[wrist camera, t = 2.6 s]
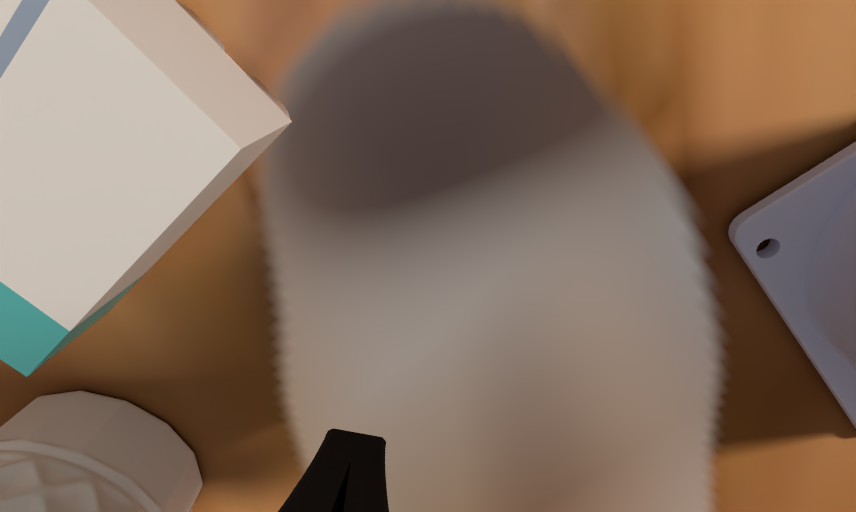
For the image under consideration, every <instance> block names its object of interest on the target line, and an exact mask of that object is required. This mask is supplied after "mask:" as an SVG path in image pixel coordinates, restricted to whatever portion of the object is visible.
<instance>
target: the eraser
mask: <svg viewBox="0 0 856 512" xmlns="http://www.w3.org/2000/svg"><path fill="white" fill-rule="evenodd" d="M291 122H292V121H291V120H290V118H289V114H288V111H287V109H286V108H285V106H284V105H283V103H282V102H281V101H280V100H279V98H278V97H277V96H276V95H275V97H274V96H273V95H272V94H271V93H270V92H269V91H268V90H267V88H266V87H265V86H264V85H263V84H262V83H261V82H260V81H259V80H257V79H256V78H254V77H252V76H250V75H248V74H246V73H245V72H244V71H243V70H242V69H241V68H240V67H239V66H238V65H237V64H236V63H235V62H234V61H233V60H232V59H231V58H230V57H229V56H228V55H227V54H226V53H225V52H224V45H223V43H222V42H221V41H220V39H219V38H218V37H217V36H216V35H215V34H214V33H213V32H212V31H211V30H210V29H209V28H208V27H207V26H206V25H205V24H204V23H203V22H202V21H201V20H200V19H199V18H198V17H197V16H196V14H195V13H194V12H193V11H192V10H190V9H189V8H188V7H186V6H184V5H183V4H181V3H179V2H177V1H176V0H49V2H48V3H47V5H46V6H45V8H44V10H43V11H42V13H41V14H40V16H39V18H38V19H37V21H36V22H35V24H34V26H33V27H32V29H31V30H30V32H29V33H28V35H27V37H26V38H25V40H24V41H23V43H22V45H21V46H20V48H19V49H18V51H17V53H16V54H15V56H14V57H13V59H12V61H11V62H10V64H9V65H8V67H7V69H6V70H5V72H4V73H3V75H2V77H1V78H0V359H1V360H2V361H4V362H5V363H7V364H8V365H10V366H11V367H13V368H14V369H16V370H17V371H19V372H20V373H22V374H23V375H25V376H26V377H28V376H29V375H30V374H31V373H33V372H34V371H35V370H36V369H38V368H39V367H40V366H41V365H43V364H44V363H45V362H46V361H48V360H49V359H50V358H51V357H53V356H54V355H55V354H56V353H58V352H59V351H60V350H61V349H63V348H64V347H65V346H66V345H68V344H69V343H70V342H71V341H73V340H74V339H75V338H76V337H77V336H79V335H80V334H81V333H82V332H84V331H85V330H86V329H87V328H89V327H90V326H91V325H92V324H94V323H95V322H96V321H97V320H99V319H100V318H101V317H102V316H104V315H105V314H106V313H107V312H108V311H109V310H110V309H111V308H112V307H113V306H114V305H115V304H116V303H117V302H118V301H119V300H120V299H121V298H122V297H123V296H124V295H125V294H126V293H127V292H128V291H129V290H130V289H131V288H132V287H133V286H134V285H135V284H136V282H137V281H138V280H139V279H140V278H141V277H142V276H143V275H144V274H145V273H146V272H147V271H148V270H149V269H150V268H151V267H152V266H153V265H154V264H155V263H156V262H157V261H158V260H159V259H160V258H161V257H162V256H163V255H164V254H165V252H166V251H167V250H168V249H169V248H170V247H171V246H172V245H173V244H174V243H175V242H176V241H177V240H178V239H179V238H180V237H181V236H182V235H183V234H184V233H185V232H186V231H187V230H188V229H189V228H190V227H191V226H192V225H193V224H194V222H195V221H196V220H197V219H198V218H199V217H200V216H201V215H202V214H203V213H204V212H205V211H206V210H207V209H208V208H209V207H210V206H211V205H212V204H213V203H214V202H215V201H216V200H217V199H218V198H219V197H220V196H221V195H222V194H223V192H224V191H225V190H226V189H227V188H228V187H229V186H230V185H231V184H232V183H233V182H234V181H235V180H236V179H237V178H238V177H239V176H240V175H241V174H242V173H243V172H244V171H245V170H246V169H247V168H248V167H249V166H250V165H251V164H252V162H253V161H254V160H255V159H256V158H257V157H258V156H259V155H260V154H261V153H262V152H263V151H264V150H265V149H266V148H267V147H268V146H269V145H270V144H271V143H272V142H273V141H274V140H275V139H276V138H277V137H278V136H279V135H280V133H281V132H282V131H283V130H284V129H285V128H286V127H287V126H288V125H289V124H290V123H291Z"/></svg>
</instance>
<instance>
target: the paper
mask: <svg viewBox="0 0 856 512" xmlns="http://www.w3.org/2000/svg"><path fill="white" fill-rule="evenodd" d="M48 2H49V0H0V78H1V77H2V75H3V73H4V72H5V70H6V69H7V67H8V65H9V64H10V62H11V61H12V59H13V57H14V56H15V54H16V53H17V51H18V49H19V48H20V46H21V45H22V43H23V41H24V40H25V38H26V37H27V35H28V33H29V32H30V30H31V29H32V27H33V26H34V24H35V22H36V21H37V19H38V18H39V16H40V14H41V13H42V11H43V10H44V8H45V6H46V5H47V3H48Z"/></svg>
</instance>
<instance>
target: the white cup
mask: <svg viewBox="0 0 856 512" xmlns="http://www.w3.org/2000/svg"><path fill="white" fill-rule="evenodd" d="M202 485H203V482H202V478H201V475H200V471H199V468H198V464H197V461H196V457H195V454H194V452H193V451H192V450H191V449H190V448H189V447H188V445H187V444H186V443H185V442H184V441H183V440H182V439H181V438H180V437H179V436H178V435H177V433H176V432H175V431H174V430H173V429H172V428H171V427H170V426H169V425H168V424H167V423H165V422H164V421H162V420H160V419H158V418H157V417H155V416H153V415H151V414H150V413H148V412H146V411H145V410H143V409H141V408H139V407H137V406H135V405H133V404H131V403H130V402H128V401H125V400H121V399H116V398H112V397H108V396H103V395H99V394H94V393H90V392H85V391H74V392H67V393H59V394H52V395H44V396H39V397H37V398H36V399H35V400H33V401H32V402H31V403H29V404H28V405H27V406H26V407H24V408H23V409H22V410H21V411H19V412H18V413H17V414H16V415H14V416H13V417H12V418H11V419H10V420H8V421H7V422H6V423H5V424H3V425H2V426H1V427H0V512H191V511H192V509H193V506H194V504H195V502H196V499H197V497H198V495H199V492H200V490H201V488H202Z"/></svg>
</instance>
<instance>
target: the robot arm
mask: <svg viewBox="0 0 856 512" xmlns="http://www.w3.org/2000/svg"><path fill="white" fill-rule="evenodd" d="M728 235H729V238H730V241H731V242H732V244H733V245H734V247H735V248H736V250H737V251H738V253H739V254H740V256H741V257H742V259H743V260H744V262H745V263H746V265H747V266H748V268H749V269H750V271H751V272H752V274H753V275H754V277H755V278H756V280H757V281H758V283H759V284H760V286H761V287H762V289H763V290H764V292H765V293H766V295H767V296H768V298H769V299H770V301H771V302H772V304H773V305H774V307H775V308H776V310H777V311H778V313H779V314H780V316H781V317H782V319H783V320H784V322H785V323H786V325H787V326H788V328H789V329H790V331H791V332H792V334H793V335H794V337H795V338H796V340H797V341H798V343H799V344H800V346H801V347H802V349H803V350H804V352H805V353H806V355H807V356H808V358H809V359H810V361H811V362H812V364H813V365H814V367H815V368H816V370H817V371H818V373H819V374H820V376H821V377H822V379H823V380H824V382H825V383H826V385H827V386H828V388H829V389H830V391H831V392H832V394H833V395H834V397H835V398H836V400H837V401H838V403H839V404H840V406H841V407H842V409H843V410H844V412H845V413H846V415H847V416H848V418H849V419H850V421H851V422H852V424H853V425H854V427H855V428H856V142H854V143H852V144H851V145H849V146H848V147H846V148H844V149H843V150H841V151H840V152H838V153H836V154H835V155H833V156H832V157H830V158H828V159H827V160H825V161H823V162H822V163H820V164H819V165H817V166H815V167H814V168H812V169H811V170H809V171H807V172H806V173H804V174H803V175H801V176H799V177H798V178H796V179H795V180H793V181H791V182H790V183H788V184H787V185H785V186H783V187H782V188H780V189H779V190H777V191H775V192H774V193H772V194H771V195H769V196H767V197H766V198H764V199H763V200H761V201H759V202H758V203H756V204H755V205H753V206H751V207H750V208H748V209H747V210H745V211H743V212H742V213H740V214H739V215H738V216H737V217H736V218H734V219H733V221H732V223H731V224H730V226H729V231H728ZM769 238H770V242H769V244H768V246H766V247H765V248H764V249H763V250H760V251H756V249H757V247H758V245H759V244H760V243H761V242H762V241H764V240H766V239H769ZM385 445H386V441H385V440H384V439H383V438H382V437H377V436H372V435H366V434H360V433H355V432H349V431H344V430H339V429H331V430H329V431H328V432H327V434H326V437H325V439H324V441H323V443H322V445H321V446H320V448H319V450H318V452H317V454H316V456H315V457H314V459H313V461H312V462H311V464H310V465H309V467H308V469H307V470H306V472H305V473H304V475H303V477H302V478H301V480H300V481H299V482H298V484H297V485H296V487H295V488H294V490H293V491H292V493H291V494H290V496H289V497H288V498H287V500H286V501H285V503H284V504H283V506H282V507H281V508H280V510H279V511H278V512H389V508H388V500H387V491H386V477H385Z"/></svg>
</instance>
